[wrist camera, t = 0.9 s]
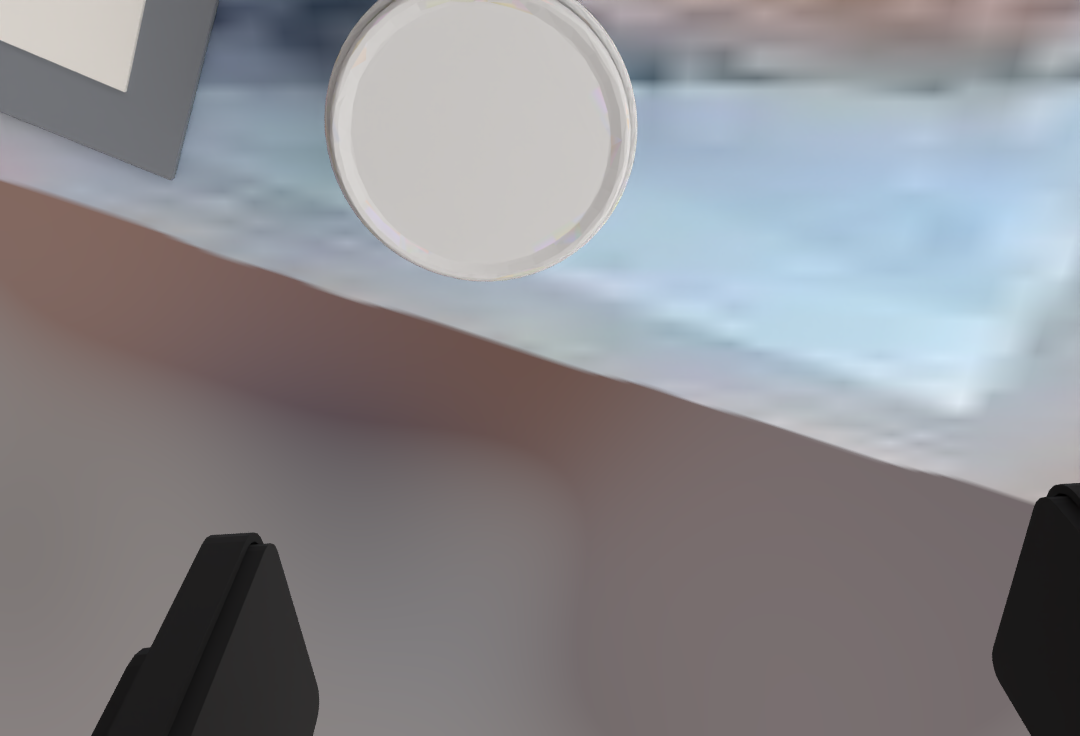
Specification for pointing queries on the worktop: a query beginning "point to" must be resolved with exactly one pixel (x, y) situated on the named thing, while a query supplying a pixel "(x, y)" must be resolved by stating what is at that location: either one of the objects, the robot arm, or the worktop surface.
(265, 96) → the worktop surface
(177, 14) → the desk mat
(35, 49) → the paper
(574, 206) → the coffee cup
